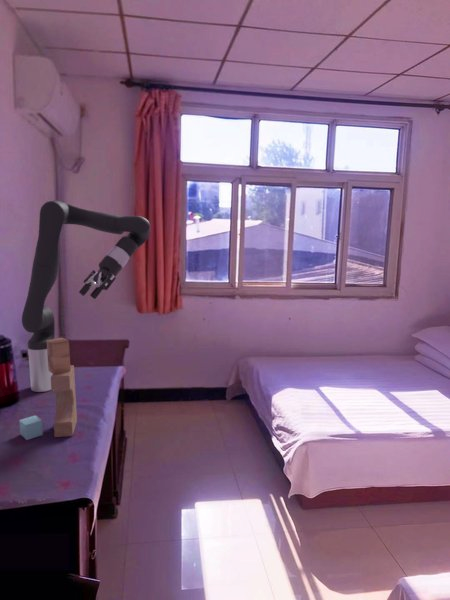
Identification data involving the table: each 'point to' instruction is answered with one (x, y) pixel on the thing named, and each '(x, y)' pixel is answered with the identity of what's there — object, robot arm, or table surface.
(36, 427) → the teal cube
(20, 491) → the table surface
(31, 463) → the table surface
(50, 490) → the table surface
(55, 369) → the tan long block
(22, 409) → the table surface
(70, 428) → the decorative block
